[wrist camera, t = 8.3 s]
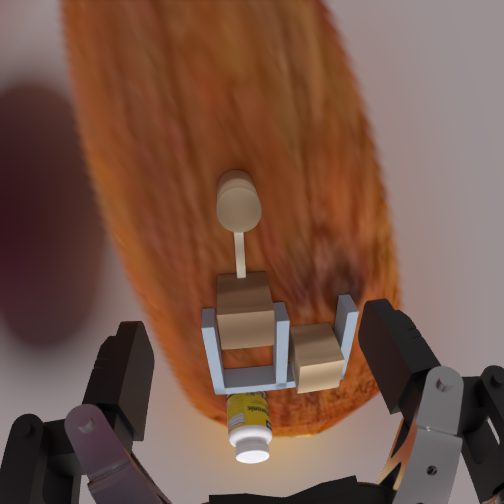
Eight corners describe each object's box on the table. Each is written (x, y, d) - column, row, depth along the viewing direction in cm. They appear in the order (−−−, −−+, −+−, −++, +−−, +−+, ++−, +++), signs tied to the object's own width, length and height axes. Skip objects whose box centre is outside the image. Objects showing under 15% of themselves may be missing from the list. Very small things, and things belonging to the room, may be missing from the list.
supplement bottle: (273, 395, 40) (284, 455, 31) (244, 410, 41) (250, 468, 33) (248, 379, 38) (255, 444, 29) (218, 396, 39) (220, 458, 30)
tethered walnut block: (206, 171, 25) (202, 193, 20) (262, 167, 25) (273, 188, 20) (221, 307, 32) (221, 349, 26) (265, 304, 32) (274, 344, 27)
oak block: (289, 326, 34) (300, 366, 29) (329, 321, 34) (344, 359, 29) (288, 354, 36) (297, 393, 31) (324, 349, 36) (338, 386, 31)
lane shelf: (202, 308, 32) (201, 328, 29) (349, 294, 32) (358, 311, 30) (215, 376, 37) (215, 394, 34) (336, 362, 38) (343, 379, 35)
